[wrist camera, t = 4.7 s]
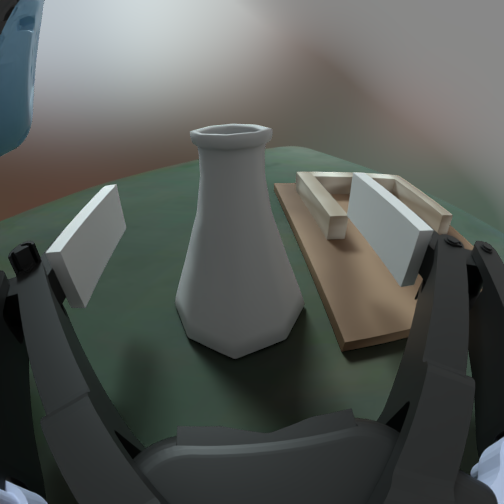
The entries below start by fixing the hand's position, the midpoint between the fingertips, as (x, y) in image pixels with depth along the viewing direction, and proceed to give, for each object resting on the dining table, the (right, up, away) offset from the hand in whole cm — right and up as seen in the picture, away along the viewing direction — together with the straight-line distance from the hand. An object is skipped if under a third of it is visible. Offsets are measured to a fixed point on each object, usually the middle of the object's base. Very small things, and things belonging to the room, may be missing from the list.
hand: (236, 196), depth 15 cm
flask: (0, -6, +2) cm, 7 cm away
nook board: (+13, -1, +8) cm, 15 cm away
